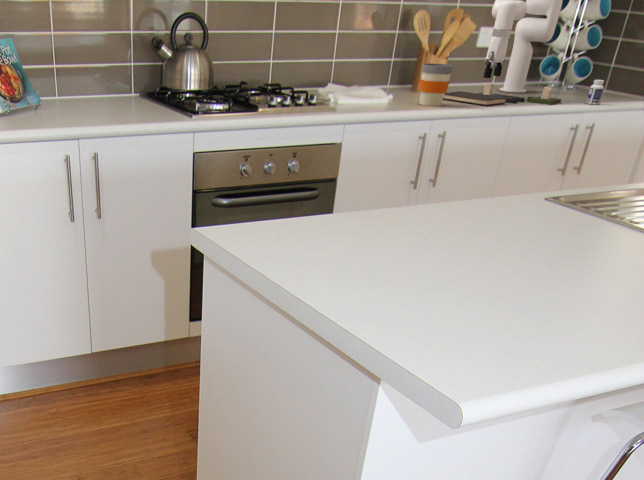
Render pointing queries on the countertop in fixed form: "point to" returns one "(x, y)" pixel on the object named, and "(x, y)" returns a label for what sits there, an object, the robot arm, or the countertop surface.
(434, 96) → the reusable coffee cup
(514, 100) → the base tile
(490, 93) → the slate tile
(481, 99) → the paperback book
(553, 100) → the olive tile
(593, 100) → the pill bottle
